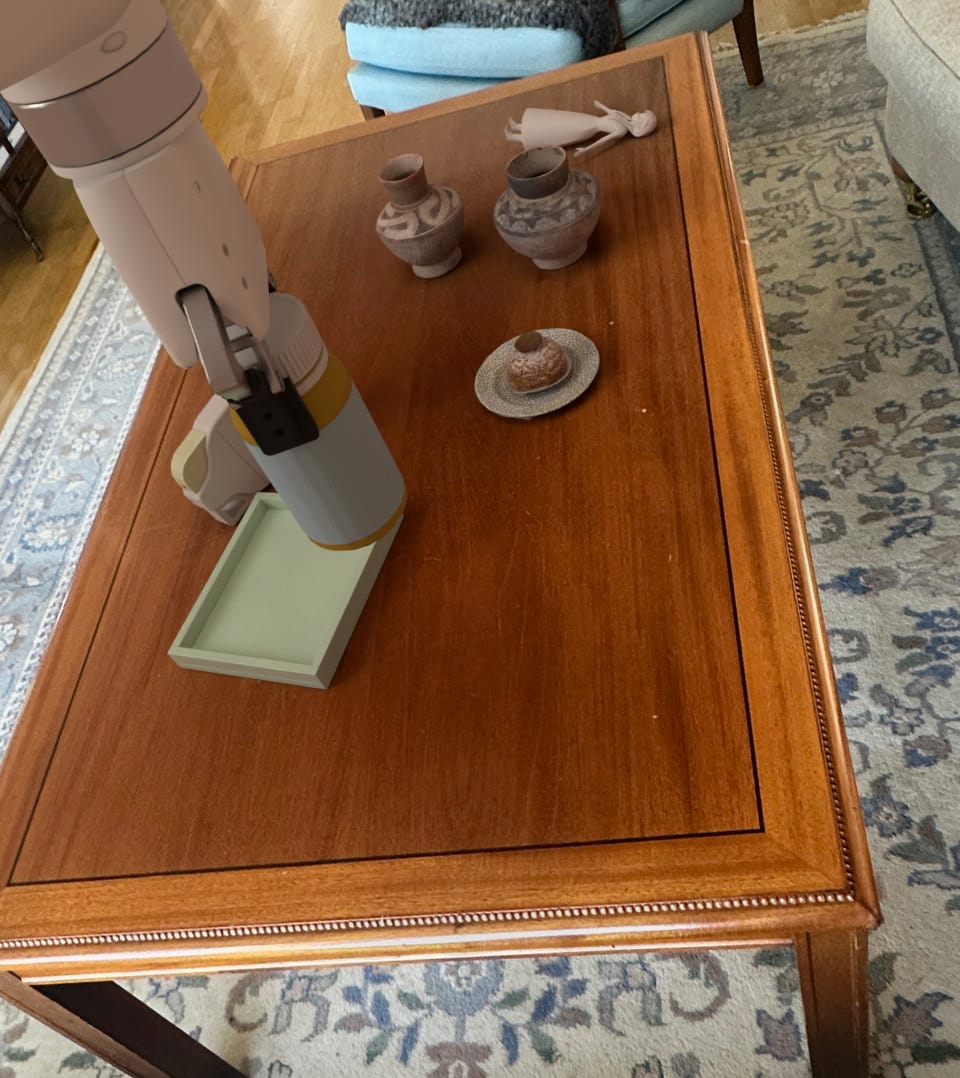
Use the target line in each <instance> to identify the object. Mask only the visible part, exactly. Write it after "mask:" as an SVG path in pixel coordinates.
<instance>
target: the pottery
mask: <svg viewBox="0 0 960 1078" xmlns="http://www.w3.org/2000/svg"><path fill="white" fill-rule="evenodd" d="M504 172H505V175H506V177H507V178H506V179H507V181H508V184H509V187H508V188H507V189H506V190H504V191H503V193H501V195H500V196H499V197H498V199H497V201H496V202H495V204H494V207H493V209H492V220H493V223H494V225H495V228H496V230H497V232H498V233H499V235H500V237H501V238H502V239H503V240H504V242H505V243H506V244H507V245H508V246H509V247H510V248H511V249H512V250H514V251H516V252H517V253H519V254H521V255H523V256H525V257H527V258H530V259H532V260H533V264H534V265H535V266H536V267H538V268H539V269H542V270H559V269H562V268H565V267H568V266H571V264H573V263H575V262H577V261H578V260H579V259H580V258H581V257H582V256H583V255H584V254H585V253H586V251H587V248H588V239H589V238H590V236H591V235H592V234H593V232H594V230H595V228H596V226H597V223H598V221H599V218H600V213H601V210H602V209H601V208H602V190H601V184H600V181H599V180H598V179H597V178H596V176H595V175H593V174H592V173H590V172H588V171H586V170H583V169H579V168H575V167H570V165H569V158H568V156H567V152H566V150H565V149H564V147H562V148H561V147H559V146H557V145H542V146H537V147H534V148H530V149H528V150H523V151H521V152H520V153H518V154H517V155H515V156H514V157H512V158H511V159H510V160H509V161H508V162H507V164H506V165H505V167H504ZM377 177H378V179H379V181H380V183H381V184H382V185H383V186H384V188H385V189H386V192H387V193H388V195H389V197H390V200H389V201H388V202H387V203H386V205H385V206H384V207H383V209H382V210H381V212H380V213H379V215H378V216H377V220H376V222H375V232H376V234H377V236H378V237H379V239H380V240H381V242H382V244H384V245H385V246H386V247H387V249H388V250H389V251H390V252H391V253H392V254H393V255H394V256H395V257H397V258H398V259H399V260H401V261H402V262H405V263H407V264H410V265H411V267H412V271H413V273H414V274H415V275H416V276H417V277H419V278H422V279H432V278H436V277H441V276H442V275H444V274H447V273H449V272H450V271H451V270H453V269H454V268H455V267H456V266H457V265H458V264H459V262H460V261H461V259H462V250H461V249H460V247H459V244H460V241H461V239H462V237H463V232H464V226H465V207H464V199H463V197H462V194H460V192H459V191H457V190H456V189H454V188H452V187H450V186H447V185H442V184H435V183H428V179H427V175H426V170H425V160H424V157H423V156H422V155H421V154H418V153H414V152H413V153H411V152H410V153H404V154H400V155H397V156H394V157H392V158H390V159H389V160H387V161H386V162H385V163H383V164H382V165H381V166H380V167H379V170H378V172H377Z"/></svg>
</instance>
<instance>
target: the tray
mask: <svg viewBox="0 0 960 1078" xmlns="http://www.w3.org/2000/svg"><path fill="white" fill-rule="evenodd" d="M403 513H404V512H402V514H401V516H400V518H399V519H398V521H397V522H396V524H395V526H394V527H393V528H392V529H391V530H390V531H389V532H388V533H387V534H386V535H385V536H384V537H382V538H381V539H379V540H378V541H376V542H374V543H372V544H371V545H369V546H366V547H363V548H360V549H357V550H347V551H332V550H328V549H324V548H321V547H319V546H317V545H316V544H314V543H313V542H312V541H311V540H310V539H309V538H308V536H307V535H306V534H305V533H304V531H303V530H302V528H301V527H300V525H299V524H298V522H297V521H296V519H295V518H294V516H293V515H292V513H291V512H290V510H289V509H288V507H287V506H286V504H285V503H284V501H283V500H282V498H281V497H280V495H279V494H278V492H265V491H264V492H263V491H259V492H257V493H256V495H255V497H254V499H253V500H252V502H251V503H250V505H249V506H248V507H247V509H246V510H245V512H244V515H243V517H242V518H241V520H240V522H239V524H238V526H237V528H236V529H235V531H234V533H233V535H232V537H231V538H230V540H229V542H228V543H227V545H226V547H225V549H224V551H223V553H222V554H221V556H220V558H219V560H218V561H217V563H216V565H215V567H214V569H213V570H212V572H211V574H210V576H209V578H208V579H207V581H206V583H205V585H204V586H203V588H202V590H201V592H200V594H199V595H198V597H197V599H196V601H195V603H194V604H193V606H192V608H191V610H190V611H189V613H188V615H187V617H186V618H185V621H184V623H183V624H182V626H181V628H180V629H179V631H178V633H177V635H176V637H175V638H174V641H173V642H172V644H171V646H170V648H169V649H168V651H167V654H166V655H168V656H169V657H170V658H171V660H173V661H174V662H175V663H176V664H177V665H178V666H179V668H181V669H187V670H193V671H200V672H207V673H213V674H214V673H215V674H220V675H227V676H234V677H241V678H247V679H252V680H253V679H254V680H260V681H266V682H272V683H273V682H274V683H280V684H287V685H294V686H299V687H300V686H301V687H306V688H313V689H320V690H329V689H328V688H329V687H330V684H331V682H332V680H333V677H334V675H335V673H336V671H337V668H338V666H339V664H340V661H341V660H342V658H343V655H344V653H345V651H346V649H347V646H348V643H349V642H350V639H351V637H352V634H353V632H354V630H355V628H356V625H357V623H358V621H359V619H360V617H361V615H362V612H363V610H364V607H365V605H366V603H367V600H368V598H369V596H370V594H371V591H372V590H373V587H374V585H375V583H376V581H377V579H378V575H379V574H380V571H381V569H382V566H383V565H384V562H385V561H386V558H387V556H388V553H389V551H390V548H391V547H392V545H393V542H394V540H395V537H396V536H397V533H398V531H399V530H400V526H401V524H402V522H403V519H404V517H405V516H404V514H403Z"/></svg>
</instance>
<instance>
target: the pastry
mask: <svg viewBox="0 0 960 1078" xmlns="http://www.w3.org/2000/svg"><path fill="white" fill-rule="evenodd" d="M599 368H600V354H599V350H598V349H597V347H596V345H595V343H594V342H593V340H592V339H590V338H589V337H587V336H585V335H584V334H583V333H580V332H579V331H576V330H574V329H569V328H562V327H561V328H560V327H555V328H553V327H552V328H542V329H537V330H536V329H535V330H532V331H527V332H525V333H522V334H519V335H517V336H514V337H513V338H511V339H509V340H507V341H505V342H504V343H502V344H500V346H498V347H497V348H496V349H495V350H494V351H493V352H491V353H490V354H489V355H488V356H487V357H486V358H485V359H484V361H483V362H482V364H481V365H480V367H479V368H478V371H477V372H476V376H475V379H474V391H475V394H476V396H477V399H478V401H479V402H480V403H481V404H482V406H484V407H485V408H486V409H487V410H489V411H491V412H493V413H495V414H497V415H498V416H499V417H502V418H504V417H505V418H514V419H517V420H521V419H522V420H526V421H531V420H533V419H534V418H535V417H537V416H541V415H544V414H548V413H551V412H553V411H556V410H558V409H561V408H562V407H564V406H566V405H568V404H570V403H571V402H573V401H574V400H576V399H577V398H578V397H580V396H581V394H583V393H584V392H585V391H586V390H587V389H588V388H589V387H590V385H591V384H592V382H594V379H595V377H596V375H597V374H598V372H599Z"/></svg>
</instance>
